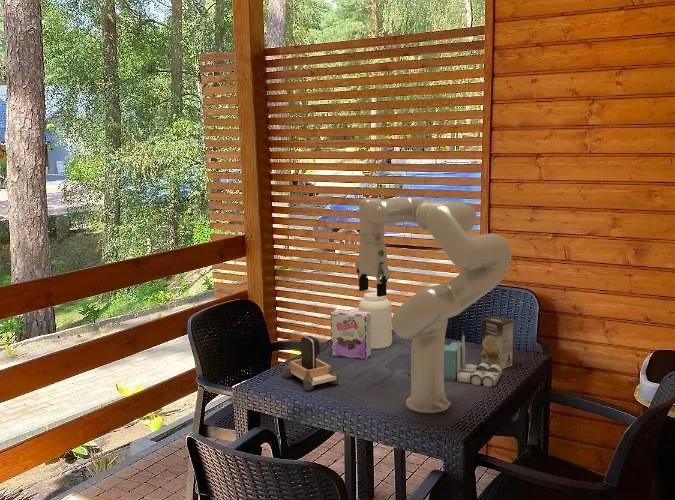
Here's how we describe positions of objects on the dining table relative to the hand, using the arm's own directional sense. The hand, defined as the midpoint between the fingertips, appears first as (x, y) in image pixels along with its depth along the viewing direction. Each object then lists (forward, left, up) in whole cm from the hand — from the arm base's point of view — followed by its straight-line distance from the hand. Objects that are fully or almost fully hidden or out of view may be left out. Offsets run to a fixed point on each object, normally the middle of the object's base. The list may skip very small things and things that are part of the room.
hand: (372, 293), depth 209 cm
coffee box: (-7, -47, -31) cm, 56 cm away
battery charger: (+16, +14, -27) cm, 34 cm away
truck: (-7, -28, -31) cm, 42 cm away
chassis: (+16, +14, -30) cm, 37 cm away
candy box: (+30, -11, -31) cm, 44 cm away
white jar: (+36, -26, -31) cm, 54 cm away
